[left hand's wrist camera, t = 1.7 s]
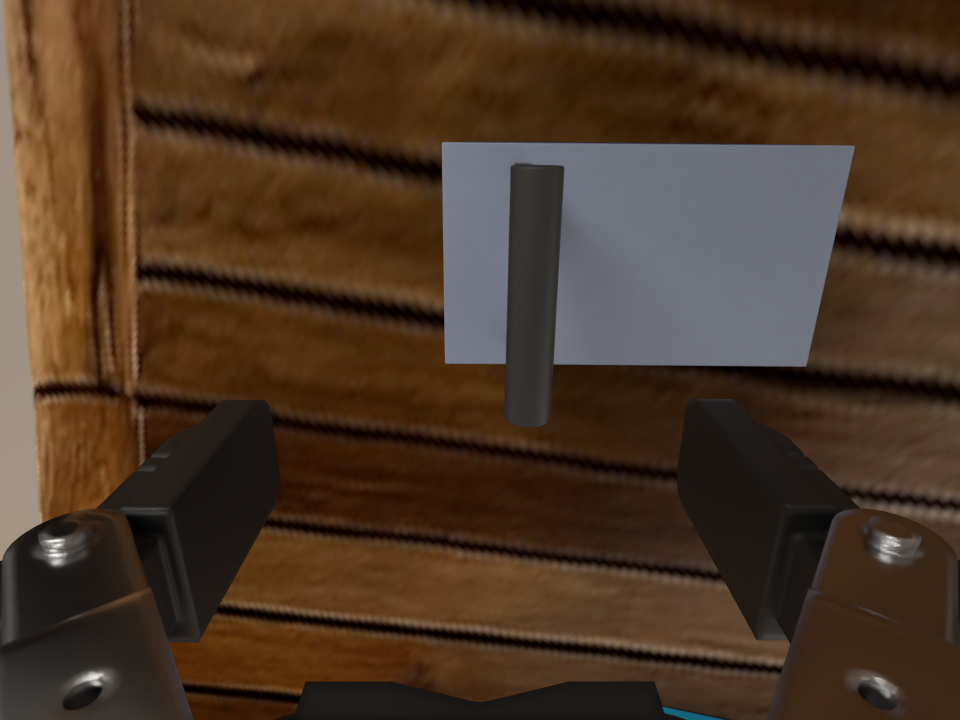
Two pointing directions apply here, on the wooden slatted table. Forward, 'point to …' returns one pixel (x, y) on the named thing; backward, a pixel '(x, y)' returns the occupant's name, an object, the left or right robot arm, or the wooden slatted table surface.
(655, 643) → the wooden slatted table surface
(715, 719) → the model building
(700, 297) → the grey lid
